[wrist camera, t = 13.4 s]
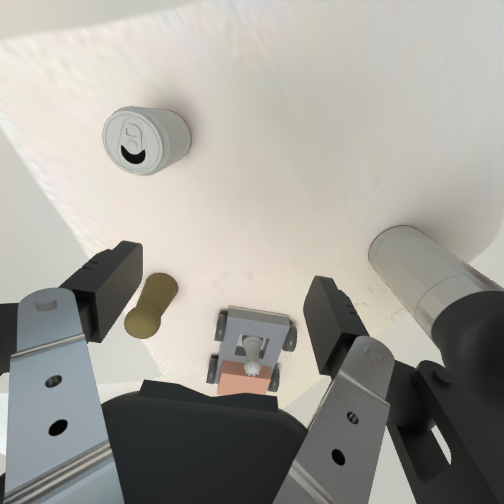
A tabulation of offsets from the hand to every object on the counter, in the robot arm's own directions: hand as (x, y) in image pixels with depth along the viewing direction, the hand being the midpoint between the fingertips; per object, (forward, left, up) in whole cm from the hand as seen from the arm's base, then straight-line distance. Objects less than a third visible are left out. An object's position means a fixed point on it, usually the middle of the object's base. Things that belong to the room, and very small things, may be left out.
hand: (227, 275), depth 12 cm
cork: (+11, +24, -28) cm, 39 cm away
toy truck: (-8, +36, -28) cm, 46 cm away
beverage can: (+11, -2, -28) cm, 30 cm away
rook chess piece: (-8, +33, -28) cm, 44 cm away
